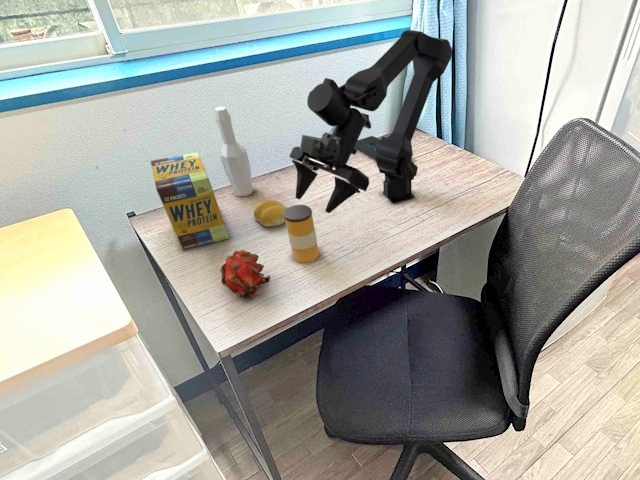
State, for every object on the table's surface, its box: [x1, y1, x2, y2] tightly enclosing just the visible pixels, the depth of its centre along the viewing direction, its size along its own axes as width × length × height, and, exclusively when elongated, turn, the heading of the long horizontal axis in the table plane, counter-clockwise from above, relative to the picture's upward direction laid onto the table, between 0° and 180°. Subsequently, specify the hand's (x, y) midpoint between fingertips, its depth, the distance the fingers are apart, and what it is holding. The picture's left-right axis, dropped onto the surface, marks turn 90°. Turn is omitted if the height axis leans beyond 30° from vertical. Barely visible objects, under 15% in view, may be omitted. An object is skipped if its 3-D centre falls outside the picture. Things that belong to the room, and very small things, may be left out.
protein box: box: [150, 152, 229, 251], centre depth 99 cm, size 10×15×16 cm
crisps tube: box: [283, 204, 320, 264], centre depth 92 cm, size 6×6×11 cm
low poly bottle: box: [214, 106, 254, 197], centre depth 110 cm, size 6×6×22 cm
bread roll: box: [253, 199, 289, 228], centre depth 106 cm, size 8×9×4 cm
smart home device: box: [354, 135, 381, 161], centre depth 133 cm, size 8×2×20 cm
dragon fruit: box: [219, 249, 271, 300], centre depth 85 cm, size 8×8×12 cm
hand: (312, 205), depth 91 cm, fingers open, 9 cm apart
